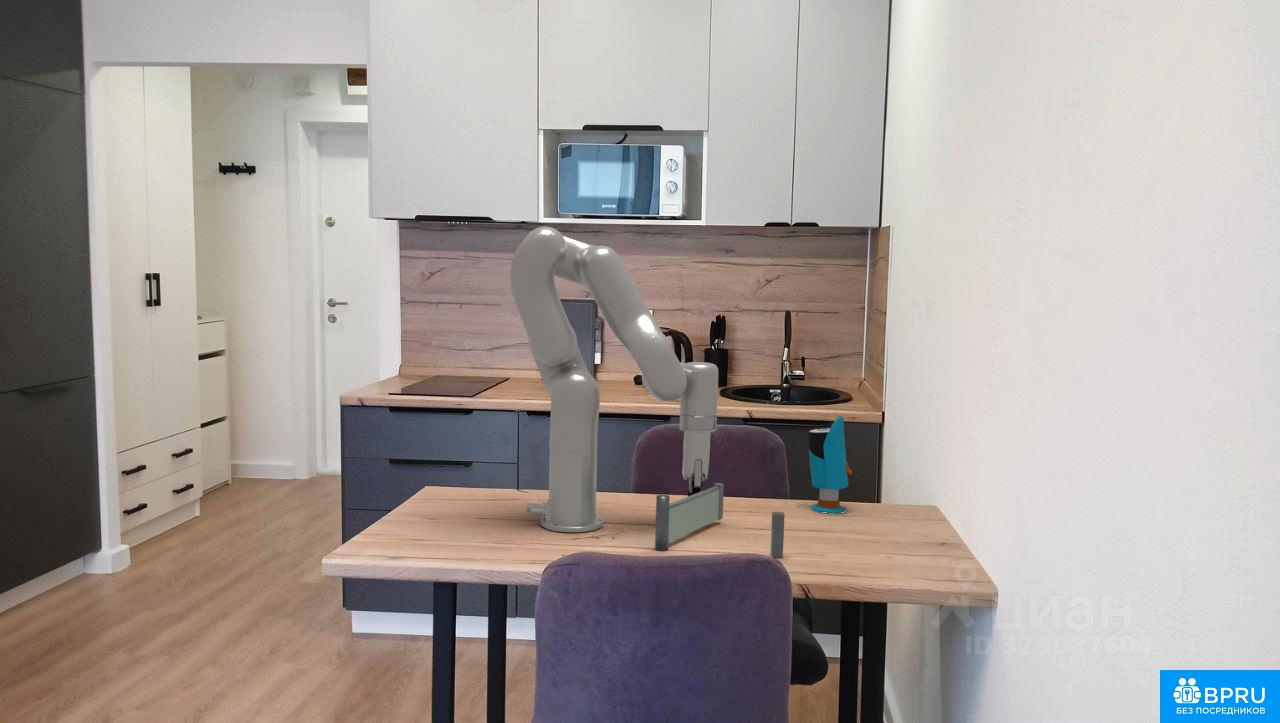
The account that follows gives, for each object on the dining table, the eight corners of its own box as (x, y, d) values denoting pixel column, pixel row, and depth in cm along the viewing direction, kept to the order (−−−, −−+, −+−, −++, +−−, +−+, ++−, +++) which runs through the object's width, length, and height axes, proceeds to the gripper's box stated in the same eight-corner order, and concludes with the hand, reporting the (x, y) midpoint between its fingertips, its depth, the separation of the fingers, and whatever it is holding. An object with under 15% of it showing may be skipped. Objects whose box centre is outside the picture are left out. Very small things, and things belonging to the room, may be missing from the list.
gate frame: (654, 550, 170) (655, 497, 169) (655, 546, 173) (657, 494, 172) (782, 558, 167) (785, 504, 167) (782, 554, 170) (784, 501, 169)
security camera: (808, 411, 209) (854, 413, 207) (804, 503, 211) (849, 507, 209) (807, 416, 201) (855, 418, 199) (803, 512, 202) (850, 516, 200)
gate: (669, 542, 172) (670, 504, 171) (661, 541, 173) (662, 503, 172) (722, 518, 191) (723, 483, 191) (715, 517, 192) (716, 482, 192)
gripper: (678, 417, 196) (675, 502, 198) (681, 428, 181) (678, 519, 183) (713, 418, 196) (710, 503, 198) (719, 429, 181) (716, 521, 183)
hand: (695, 510), depth 190 cm, fingers closed
